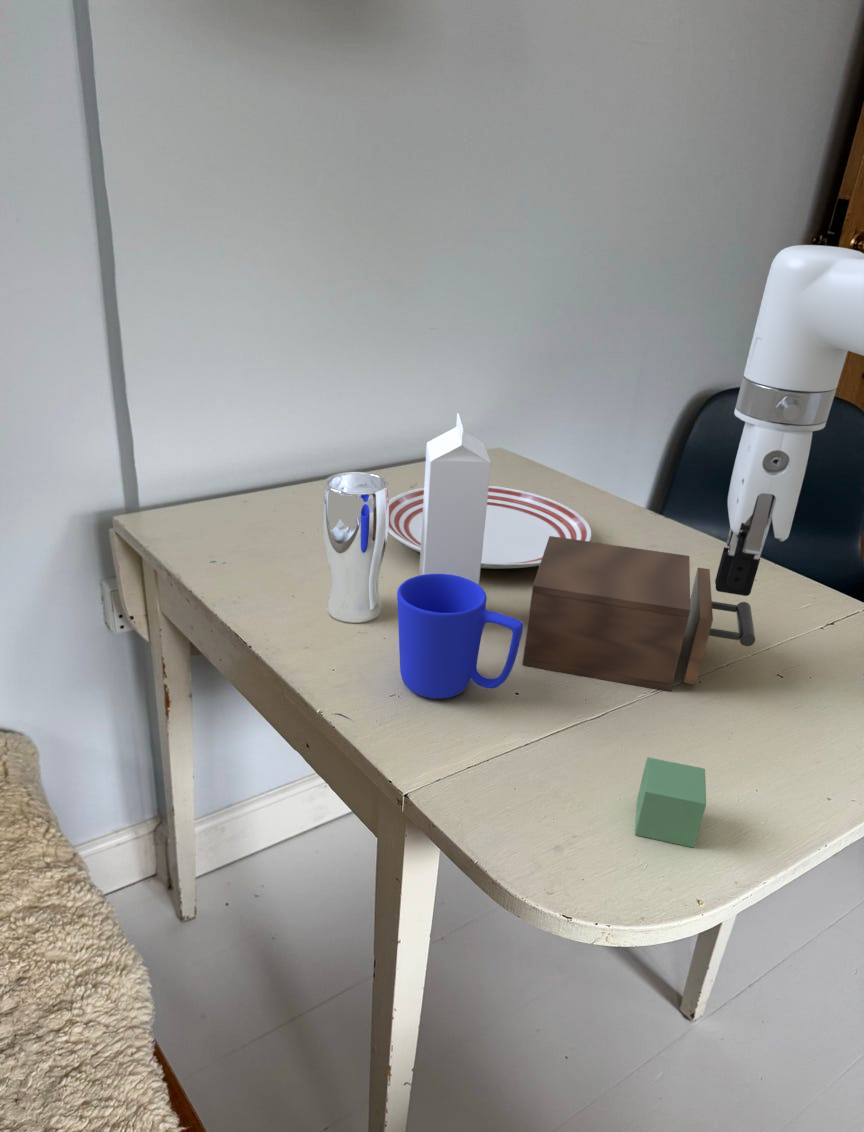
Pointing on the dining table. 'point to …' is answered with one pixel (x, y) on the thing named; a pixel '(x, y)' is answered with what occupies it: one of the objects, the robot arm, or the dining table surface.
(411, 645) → the mug
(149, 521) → the dining table surface
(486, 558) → the dinner plate
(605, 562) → the cabinet
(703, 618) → the drawer
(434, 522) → the milk
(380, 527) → the beer glass
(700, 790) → the block
